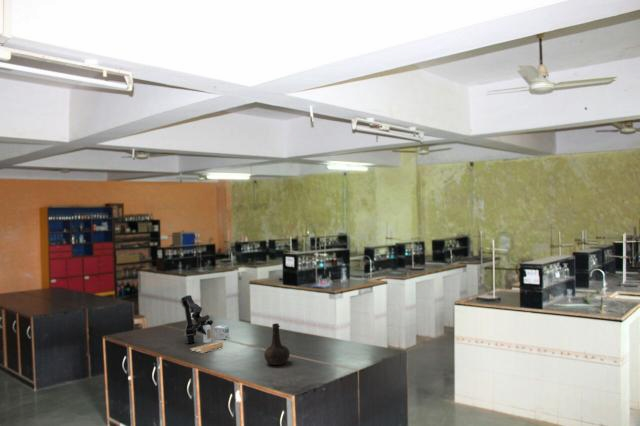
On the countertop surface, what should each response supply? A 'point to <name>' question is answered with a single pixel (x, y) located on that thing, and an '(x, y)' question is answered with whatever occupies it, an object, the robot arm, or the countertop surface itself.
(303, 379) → the countertop surface
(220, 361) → the countertop surface
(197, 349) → the shelf board
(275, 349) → the glass bottle
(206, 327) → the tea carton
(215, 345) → the price rail
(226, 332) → the light bulb box
